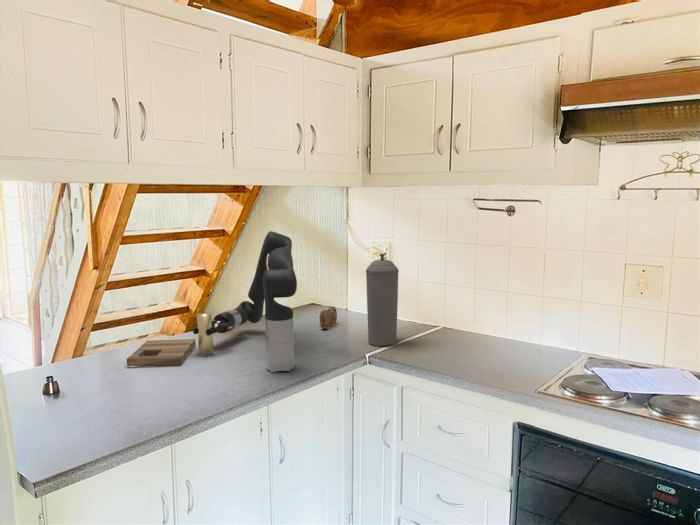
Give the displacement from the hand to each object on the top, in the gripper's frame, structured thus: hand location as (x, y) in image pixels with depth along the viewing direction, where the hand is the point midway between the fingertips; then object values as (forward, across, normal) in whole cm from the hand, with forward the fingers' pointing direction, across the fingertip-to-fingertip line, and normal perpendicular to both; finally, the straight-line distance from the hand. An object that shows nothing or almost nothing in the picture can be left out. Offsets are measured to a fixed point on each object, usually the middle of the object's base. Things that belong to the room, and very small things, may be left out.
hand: (200, 332), depth 182 cm
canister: (-37, +57, +9) cm, 68 cm away
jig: (+5, -13, +9) cm, 17 cm away
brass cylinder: (-3, 0, +9) cm, 9 cm away
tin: (-53, +27, +9) cm, 60 cm away
